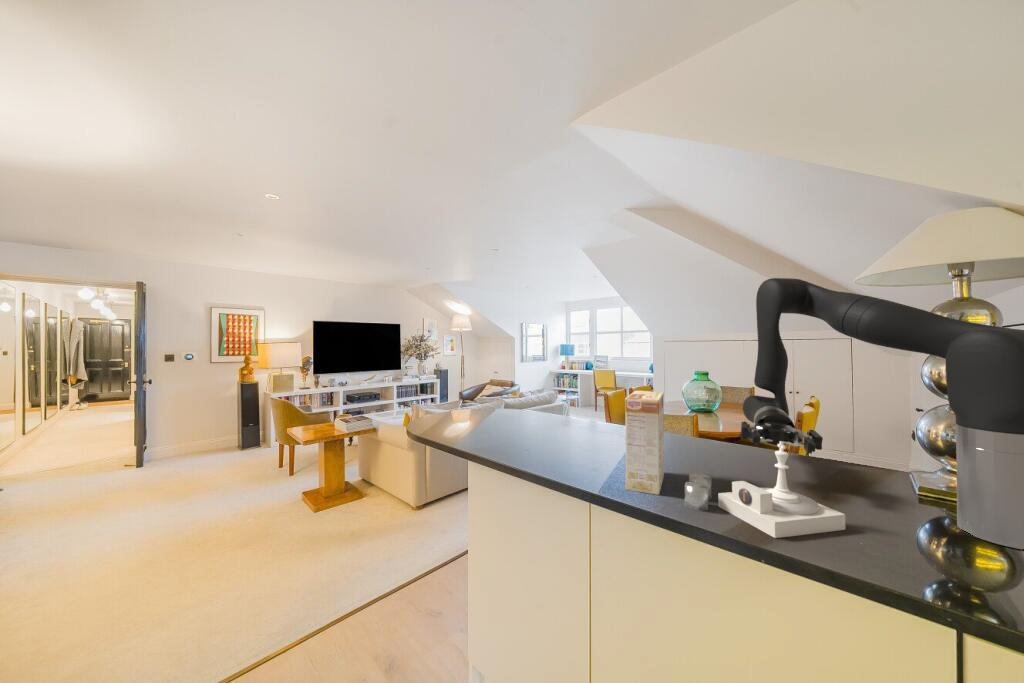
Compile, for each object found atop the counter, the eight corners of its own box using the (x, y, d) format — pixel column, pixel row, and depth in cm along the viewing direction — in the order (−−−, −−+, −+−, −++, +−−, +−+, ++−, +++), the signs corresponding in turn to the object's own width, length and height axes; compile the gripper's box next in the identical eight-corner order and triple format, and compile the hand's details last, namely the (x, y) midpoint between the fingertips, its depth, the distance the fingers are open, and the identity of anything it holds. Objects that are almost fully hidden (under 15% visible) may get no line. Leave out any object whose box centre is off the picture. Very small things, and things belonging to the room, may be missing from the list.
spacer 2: (698, 501, 74) (698, 480, 74) (713, 510, 70) (713, 488, 70) (680, 503, 73) (680, 482, 73) (694, 511, 69) (694, 490, 69)
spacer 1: (701, 492, 78) (701, 472, 78) (715, 499, 74) (715, 479, 75) (684, 493, 78) (684, 474, 78) (698, 501, 74) (698, 480, 74)
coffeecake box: (634, 469, 93) (634, 390, 93) (665, 473, 90) (665, 391, 90) (623, 489, 79) (623, 397, 80) (659, 495, 76) (659, 399, 77)
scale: (779, 500, 74) (779, 471, 74) (845, 529, 62) (845, 495, 62) (718, 506, 71) (718, 476, 71) (774, 538, 59) (774, 501, 59)
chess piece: (788, 493, 69) (787, 438, 69) (806, 504, 64) (805, 445, 65) (759, 491, 70) (759, 437, 70) (775, 502, 65) (774, 444, 65)
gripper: (739, 405, 93) (743, 421, 79) (811, 412, 86) (830, 432, 72) (737, 435, 94) (741, 456, 80) (809, 444, 87) (827, 470, 73)
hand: (783, 444), depth 76 cm, fingers open, 8 cm apart
